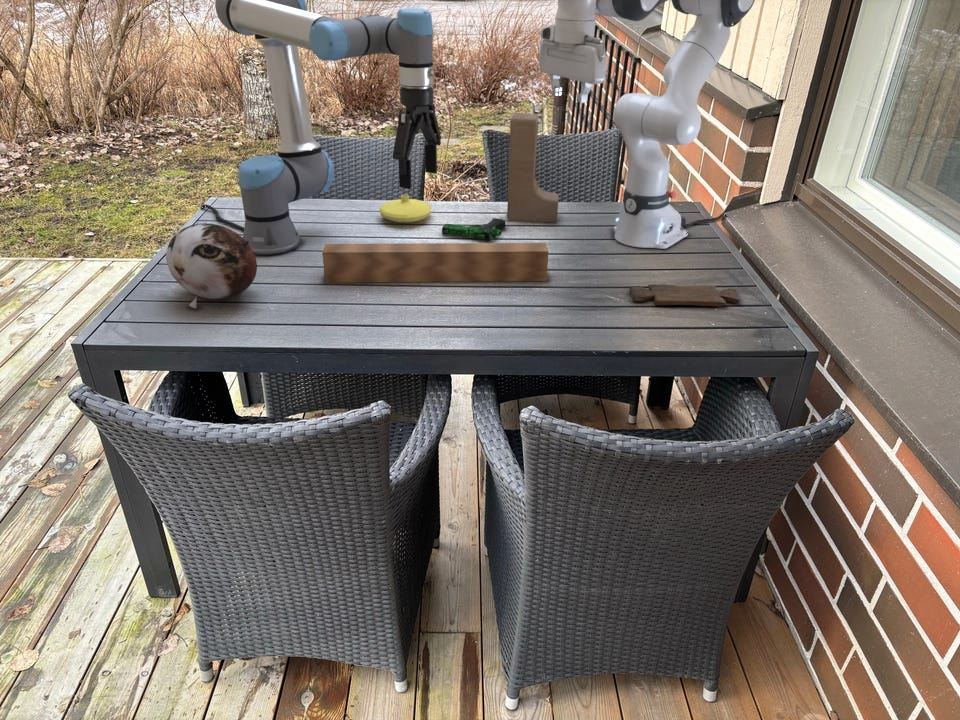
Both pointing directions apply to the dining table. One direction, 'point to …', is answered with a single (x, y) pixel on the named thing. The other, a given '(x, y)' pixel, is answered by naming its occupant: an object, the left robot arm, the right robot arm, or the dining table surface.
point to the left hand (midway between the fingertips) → (418, 179)
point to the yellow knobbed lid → (405, 210)
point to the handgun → (476, 230)
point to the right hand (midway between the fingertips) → (568, 98)
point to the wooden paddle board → (684, 295)
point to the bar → (435, 262)
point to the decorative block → (527, 174)
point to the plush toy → (211, 261)
